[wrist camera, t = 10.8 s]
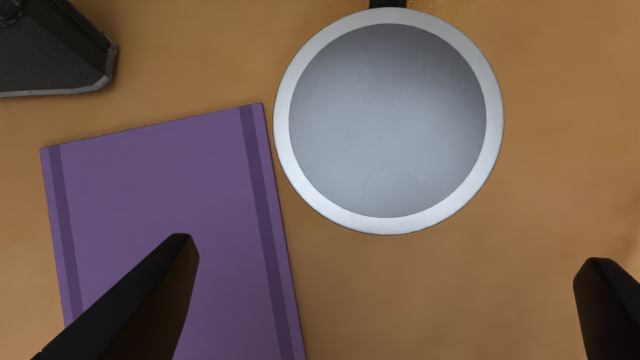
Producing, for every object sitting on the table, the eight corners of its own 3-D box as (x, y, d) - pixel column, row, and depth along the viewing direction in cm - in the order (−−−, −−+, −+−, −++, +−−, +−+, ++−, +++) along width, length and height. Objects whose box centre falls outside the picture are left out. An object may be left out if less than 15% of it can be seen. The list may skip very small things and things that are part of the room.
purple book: (321, 446, 20) (320, 450, 20) (89, 471, 22) (85, 475, 21) (262, 103, 21) (261, 102, 21) (43, 149, 23) (38, 148, 22)
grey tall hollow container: (440, 219, 20) (501, 242, 11) (310, 212, 21) (266, 229, 12) (451, -42, 20) (517, -228, 11) (322, -38, 21) (287, -210, 12)
